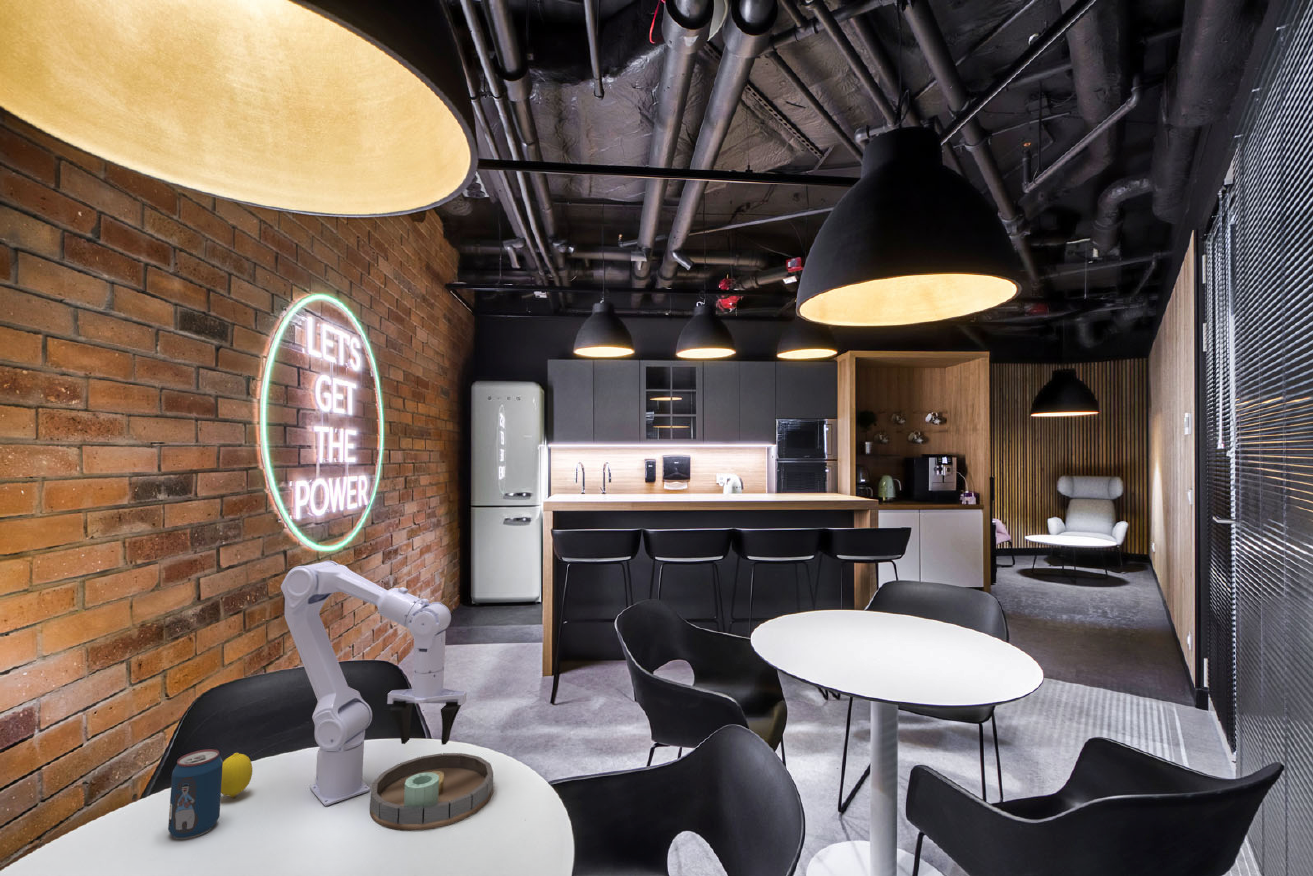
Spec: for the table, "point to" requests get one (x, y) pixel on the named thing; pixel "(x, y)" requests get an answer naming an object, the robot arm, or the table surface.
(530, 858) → the table surface
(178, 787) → the soda can
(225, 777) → the lemon
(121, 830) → the table surface
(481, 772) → the tray
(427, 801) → the gear
